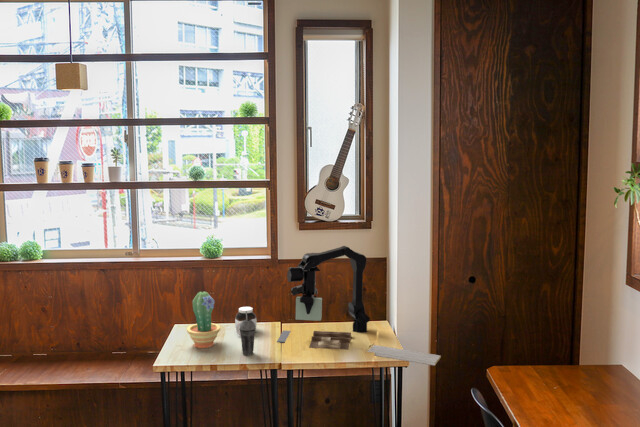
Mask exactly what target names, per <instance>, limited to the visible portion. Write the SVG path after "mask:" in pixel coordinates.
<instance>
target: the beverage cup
mask: <svg viewBox="0 0 640 427" xmlns="http://www.w3.org/2000/svg"><path fill="white" fill-rule="evenodd" d="M239 330H240V334H241V336H240V340H241V352H242V355H243V356H247V357H248V356H252V355H253V354H254V347H255V346H254V345H255V335H256V330H257V326H256V327H255V324H254V322H253V321H252V320H249V319H247V311H246V320H244V321H243V322H242V323H241V324H240V329H239Z"/></svg>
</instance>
